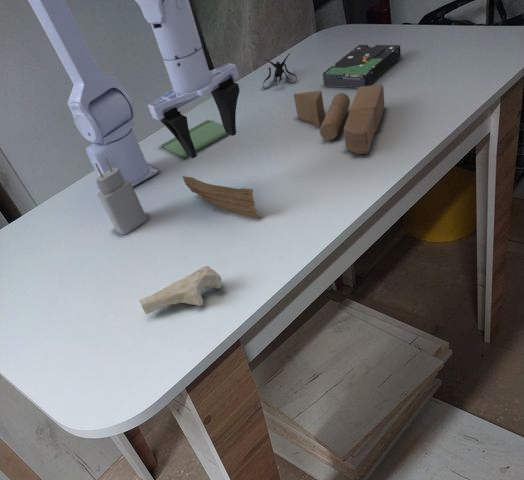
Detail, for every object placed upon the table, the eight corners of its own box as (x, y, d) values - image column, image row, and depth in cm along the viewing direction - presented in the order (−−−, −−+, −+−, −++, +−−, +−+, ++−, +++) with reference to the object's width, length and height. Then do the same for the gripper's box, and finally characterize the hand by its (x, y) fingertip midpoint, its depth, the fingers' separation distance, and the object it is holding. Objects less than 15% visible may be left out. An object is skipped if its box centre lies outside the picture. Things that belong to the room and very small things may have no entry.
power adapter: (148, 218, 90) (119, 153, 82) (124, 235, 89) (91, 171, 80) (139, 214, 92) (109, 150, 84) (114, 230, 90) (81, 167, 82)
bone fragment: (145, 311, 73) (134, 291, 71) (219, 278, 74) (211, 258, 72) (151, 330, 70) (141, 311, 67) (229, 296, 71) (221, 276, 68)
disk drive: (359, 58, 118) (323, 86, 111) (358, 44, 116) (321, 73, 109) (401, 58, 112) (365, 89, 105) (401, 44, 110) (364, 74, 103)
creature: (297, 90, 116) (297, 68, 120) (292, 67, 112) (293, 45, 115) (263, 97, 118) (264, 75, 122) (257, 75, 113) (258, 53, 117)
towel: (184, 159, 103) (183, 156, 103) (161, 147, 110) (161, 144, 109) (233, 132, 106) (232, 129, 106) (208, 121, 113) (207, 119, 113)
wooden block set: (383, 75, 94) (367, 123, 83) (385, 106, 98) (370, 156, 87) (294, 86, 100) (267, 132, 89) (299, 115, 104) (274, 163, 93)
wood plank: (264, 214, 83) (256, 186, 79) (256, 221, 82) (248, 193, 78) (199, 196, 92) (189, 170, 88) (191, 203, 91) (181, 177, 87)
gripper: (151, 78, 68) (186, 173, 78) (239, 33, 72) (262, 129, 82) (128, 70, 73) (164, 161, 82) (212, 29, 77) (237, 120, 86)
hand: (211, 144), depth 82 cm, fingers open, 7 cm apart
